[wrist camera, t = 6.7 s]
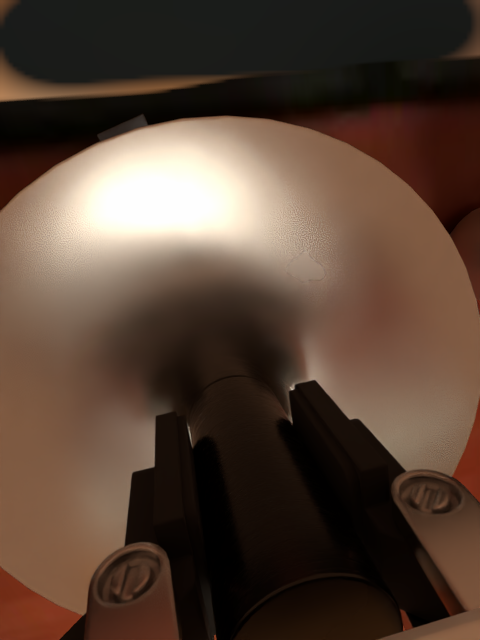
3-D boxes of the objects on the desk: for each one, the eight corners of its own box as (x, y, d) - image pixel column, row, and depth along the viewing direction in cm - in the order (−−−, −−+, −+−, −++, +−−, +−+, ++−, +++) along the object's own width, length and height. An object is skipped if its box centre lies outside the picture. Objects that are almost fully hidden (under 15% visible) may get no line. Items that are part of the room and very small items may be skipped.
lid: (120, 671, 16) (84, 1105, 8) (-198, 284, 11) (-1106, 496, 3) (501, 475, 17) (789, 706, 9) (380, 22, 12) (824, -337, 4)
